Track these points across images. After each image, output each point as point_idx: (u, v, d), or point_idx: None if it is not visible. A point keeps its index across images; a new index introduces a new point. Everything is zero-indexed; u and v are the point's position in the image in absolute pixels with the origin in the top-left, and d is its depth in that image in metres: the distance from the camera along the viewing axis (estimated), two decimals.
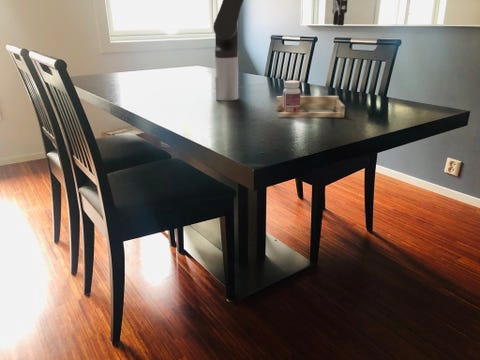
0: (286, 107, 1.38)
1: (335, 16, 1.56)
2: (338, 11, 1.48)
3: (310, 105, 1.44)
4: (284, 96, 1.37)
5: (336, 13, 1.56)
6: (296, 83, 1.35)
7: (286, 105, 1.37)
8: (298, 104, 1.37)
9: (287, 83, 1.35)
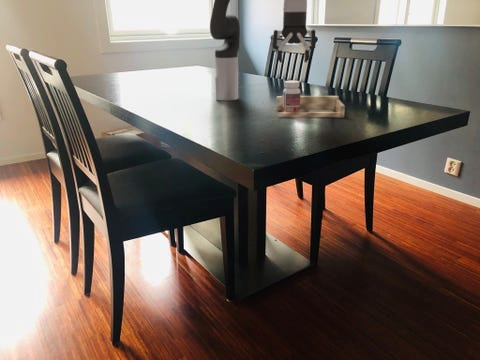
0: (286, 107, 1.38)
1: None
2: (306, 47, 1.31)
3: (310, 105, 1.44)
4: (284, 96, 1.37)
5: (281, 49, 1.32)
6: (296, 83, 1.35)
7: (286, 105, 1.37)
8: (298, 104, 1.37)
9: (287, 83, 1.35)
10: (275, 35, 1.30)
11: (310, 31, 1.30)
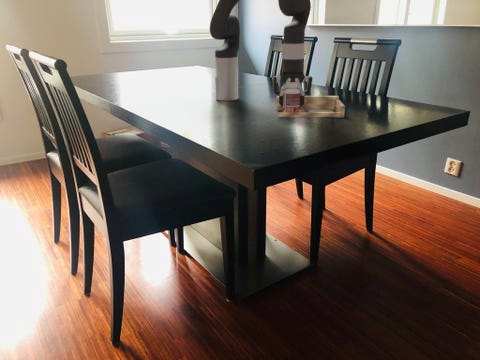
0: (286, 107, 1.38)
1: None
2: (301, 92, 1.36)
3: (310, 105, 1.44)
4: (284, 96, 1.37)
5: (282, 94, 1.38)
6: (296, 83, 1.35)
7: (286, 105, 1.37)
8: (298, 104, 1.37)
9: (287, 83, 1.35)
10: (275, 81, 1.35)
11: (307, 77, 1.35)
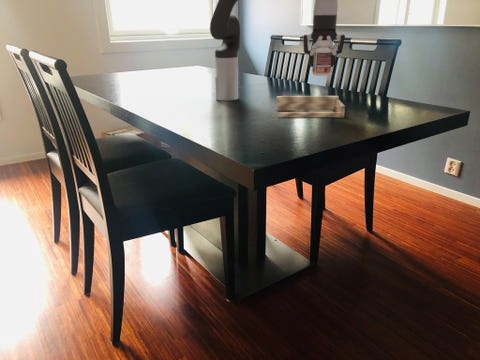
0: (316, 67, 1.32)
1: None
2: (333, 51, 1.31)
3: (310, 105, 1.44)
4: (315, 55, 1.31)
5: (312, 53, 1.32)
6: (328, 41, 1.29)
7: (317, 65, 1.32)
8: (329, 64, 1.32)
9: (318, 41, 1.29)
10: (305, 40, 1.30)
11: (340, 35, 1.30)
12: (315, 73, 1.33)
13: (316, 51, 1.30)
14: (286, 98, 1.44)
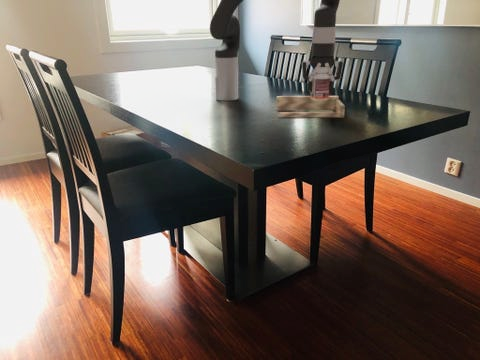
0: (315, 93, 1.35)
1: None
2: (331, 77, 1.34)
3: (310, 105, 1.44)
4: (313, 81, 1.35)
5: (311, 79, 1.36)
6: (326, 68, 1.32)
7: (315, 91, 1.35)
8: (327, 90, 1.35)
9: (317, 68, 1.33)
10: (304, 66, 1.33)
11: (338, 62, 1.33)
12: (314, 99, 1.36)
13: (315, 77, 1.34)
14: (286, 98, 1.44)
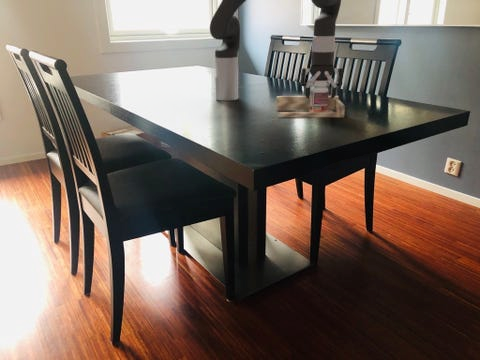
0: (314, 106, 1.37)
1: None
2: (333, 84, 1.35)
3: None
4: (312, 95, 1.37)
5: None
6: (325, 82, 1.34)
7: (314, 104, 1.37)
8: (326, 103, 1.37)
9: (315, 82, 1.34)
10: (303, 73, 1.34)
11: (337, 69, 1.34)
12: (312, 111, 1.38)
13: (313, 91, 1.36)
14: (286, 98, 1.44)
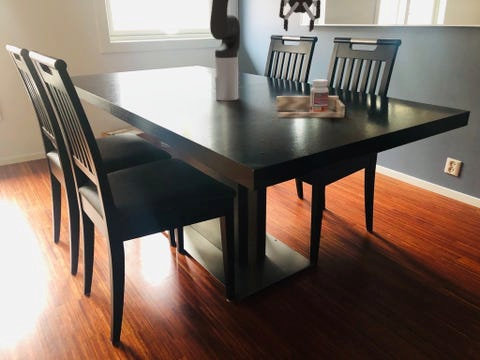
0: (314, 106, 1.37)
1: None
2: (311, 16, 1.37)
3: None
4: (312, 95, 1.37)
5: (287, 18, 1.39)
6: (325, 82, 1.34)
7: (314, 104, 1.37)
8: (326, 103, 1.37)
9: (315, 82, 1.34)
10: (282, 4, 1.36)
11: (315, 1, 1.36)
12: None
13: (313, 91, 1.36)
14: (286, 98, 1.44)
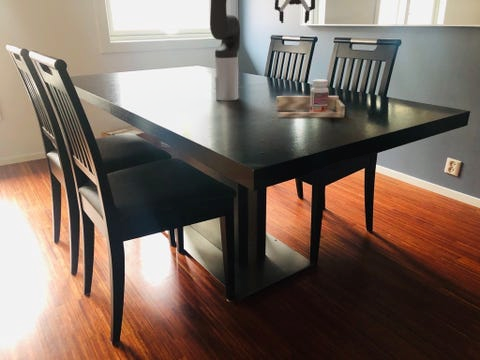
0: (314, 106, 1.37)
1: None
2: (306, 7, 1.38)
3: None
4: (312, 95, 1.37)
5: None
6: (325, 82, 1.34)
7: (314, 104, 1.37)
8: (326, 103, 1.37)
9: (315, 82, 1.34)
10: None
11: None
12: None
13: (313, 91, 1.35)
14: (286, 98, 1.44)
